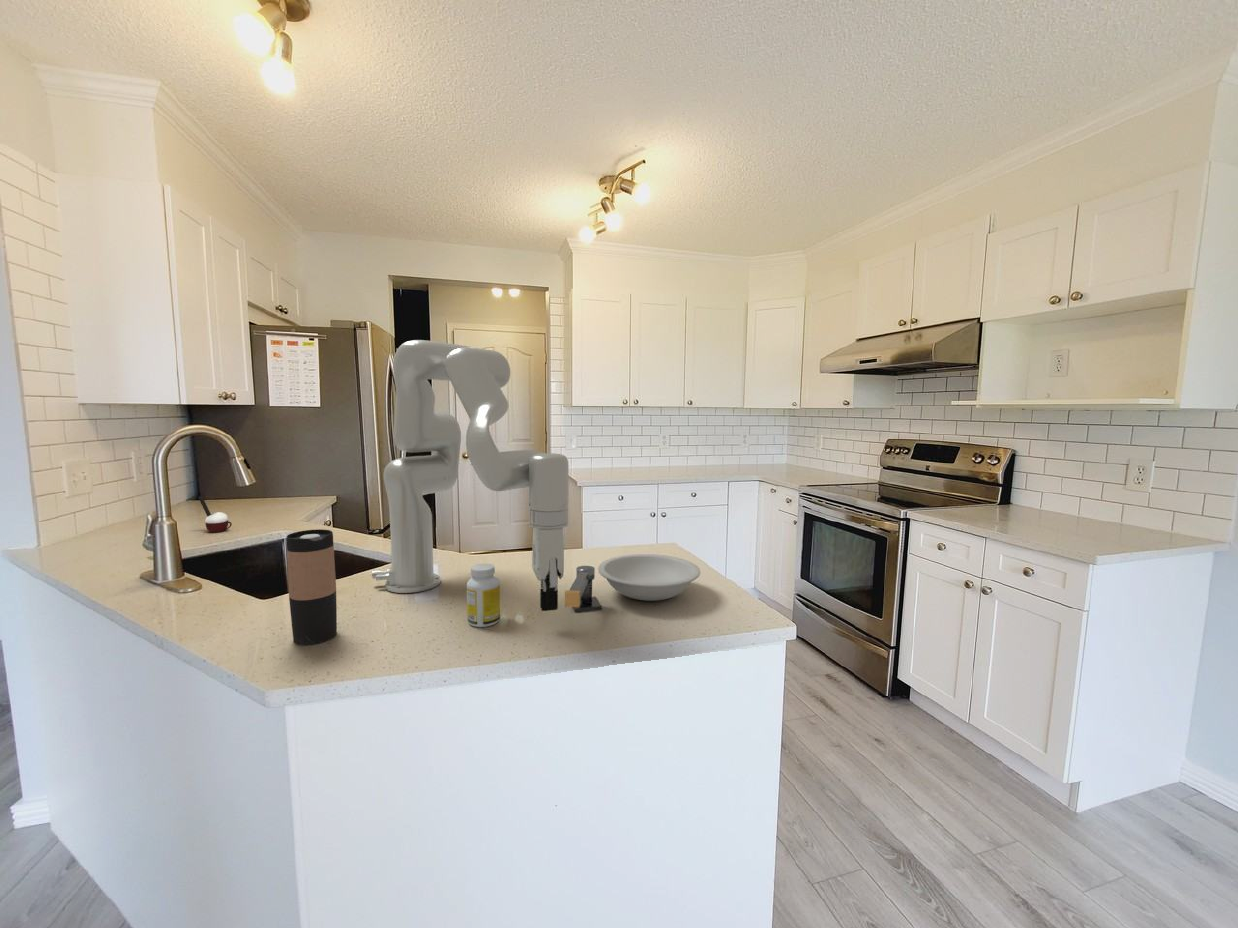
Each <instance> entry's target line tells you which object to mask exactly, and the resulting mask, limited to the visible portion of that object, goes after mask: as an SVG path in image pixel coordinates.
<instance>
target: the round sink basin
mask: <svg viewBox="0 0 1238 928" xmlns="http://www.w3.org/2000/svg"><path fill="white" fill-rule="evenodd" d="M597 570H598V574H600V576H602V577H603V578H604V579H606V581H607V582H608V583H609V585H610V587H612V588H613V590H615V591H616V592H618V593H619V594H621V595H623V596H625V597H627V598H631V599H633V600H639V601H647V602H648V601H650V602H651V601H663V600H667V599H671V598H673V597H675V596H678V595H680V594H681V593H683V592H684V591H685V590H686V589H688V587H689V586H690V585H691V583H692V582H693V581H695V580H697V579H698V578H699V577H700V575H701V569H700V567H698V565H696V564H695V563H694V562H692V561H689V560H686V559H684V558H680V557H676V556H671V555H665V554H653V553H652V554H651V553H639V554H638V553H635V554H625V555H618V556H615V557H610V558H608V559H605V560H603V561H602V562H601V563H600V564H599V565H598V569H597Z"/></svg>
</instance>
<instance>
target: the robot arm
mask: <svg viewBox="0 0 1238 928" xmlns="http://www.w3.org/2000/svg"><path fill="white" fill-rule="evenodd" d="M392 364H393V365H392V373H393V379H394V385H395V403H394V404H395V405H394V406H395V407H394V418H393V419H394V421H393V442H394V445H395V446H396V448H397V449H398V450H399V451H401V452H405V453H424V452H427V453H428V452H431V455H415V456H414V455H413V456H405V457H399V458H396V459H393V460H391V461H390V462H389V463H387V465H386V466H385V467H384V470H383V482H384V483H383V484H384V487H385V492H386V495H387V497H386V498H387V503H388V510H389V526H390V527H389V528H390V529H389V530H390V554H391V556H390V557H391V558H390V559H391V566H390V568H386V569H385V570H381V569H379V570H372V573H371V574H372V575H371V578H372V579H373V580H375V581H377V582H378V581H384V580H386V581H385V587H384V588H385V590H387V592H388V591H389V592H392V593H397V594H410V593H411V594H413V593H418V592H424V591H427V590H430V589H433V588H435V587H437V586H439V585H440V583H441V577H440V575H439V574H437V573H435V572H434V552H433V551H434V548H433V547H434V541H433V514H432V511H431V508H430V506H429V505H428V503H427V502H426V500H425V499H424V497H423V496H424V495H425V496H426V495H428V494H429V495H430V494H431V495H432V494H437V493H442V492H447V491H449V490H451V489H453V487H454V486H455V484H456V482H457V479H458V473H459V463H460V453H461V452H460V451H461V445H462V443H461V442H462V441H461V440H462V432H461V427H460V424H459V422H458V421H457V419H456V418H455V416H453V415H452V414H451V413H446V412H439V411H438V412H435V403H436V396H435V391H434V389H433V387H432V386H431V383H430V381H429V380H437V381H447V382H448V381H449V382H450V383H451V385H452V387H453V389H454V391H455V393H456V394H457V396H458V398H459V400H460V402H461V404H462V406H463V409H464V410H465V412H466V414H467V415H468V417H469V424H468V426H467V430H466V434H465V447H466V453H467V457H468V459H469V462H470V464H471V466H472V467H473V469H474V471H475V473H476V475H477V477H478V478H479V480H480V481H481V483H482V484H483V485H484V487H486V488H487V489H489V490H491V491H494V492H505V491H511V490H516V489H524V488H528V508H529V509H528V524H529V527H530V528H533V529H532V530H533V531H532V552H531V553H532V554H531V555H532V556H531V557H532V558H531V567H532V571H533V573H534V575H535V578H536V579H537V580H538V581H540V589H539V591H540V592H539V595H540V596H539V597H540V598H539V599H540V601H539V605H540V606H539V607H540V609H541V611H542V612H546V611H556V610H558V609H559V607H558V606H559V605H558V604H559V601H558V600H559V595H558V594H559V593H558V592H559V590H558V585H559V584H558V582H559V580H562V578H563V577H564V574H565V572H564V571H565V569H564V568H565V545H564V539H565V538H564V528H566V527H568V525H569V467H570V466H569V459H568V457H567V456H565V454H560V453H552V452H551V453H549V452H548V453H547V452H546V453H545V452H542V451H538V450H534V449H523V450H509V451H499V448H498V447H497V446H496V444H495V441H494V440H493V438H492V435H491V430H490V426H492V425H494V424H495V423H497V422H498V421H499V420H501V419H502V418H503V417H504V416H505V415H506V414H507V412H508V410H509V402H508V399H507V398H506V396H505V394H504V392H503V390H502V389H501V388H504V387H505V386H506V385H507V384H508V383H509V381H510V377H511V367H510V363H509V361H508V360H507V358H506V357H505V355H504V354H502V353H500V352H499V351H496V350H491V349H484V348H483V349H482V348H478V347H473V346H468V345H461V344H455V343H448V342H443V341H441V342H440V341H434V340H428V339H427V340H424V339H413V340H408V341H405V342H403V343H402V344H401V345H399V347H398V348H397V350H396V352H395V354H394V356H393V361H392Z"/></svg>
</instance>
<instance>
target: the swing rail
mask: <svg viewBox="0 0 1238 928" xmlns="http://www.w3.org/2000/svg"><path fill="white" fill-rule="evenodd" d="M595 577H596V576H595V567H594V566H592V565H581V566H580V565H579V566H577V567H576V578H575V579H574V581H573V583H572V584H571V586H570V588H569V589H566V590H565V591H564V607H566V608H567V607H569V608H572V607H580V598H581V596H582V594H583V592H584V590H585V587H586V585H587V583H588V581H591V580H592V581H593V580H595Z"/></svg>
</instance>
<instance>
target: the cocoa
mask: <svg viewBox="0 0 1238 928" xmlns="http://www.w3.org/2000/svg"><path fill="white" fill-rule="evenodd" d="M198 500H199V502H200V504H201V507H202V508H203V510H204V512H205V515H206V518H205V520H204V524H205V527H206V530H207V532H209V533H212V534H217V533H223V532H226V530H229V528H231V527H232V526H233V525H232V524H233V523H232V522H231V521H229V519H228V514H226V513H225V512H222V511H221V512H220V511H218V512H214V513H213V514H212V513H211V512H210V510H209V508H208V505H207V503H206V501H205V499H204V497H203V496H198Z"/></svg>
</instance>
